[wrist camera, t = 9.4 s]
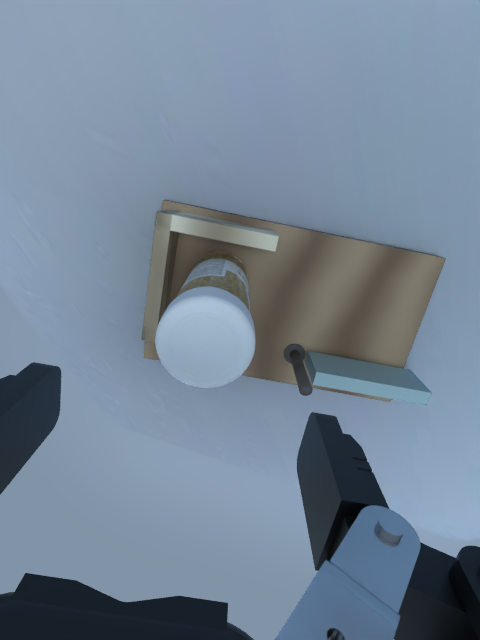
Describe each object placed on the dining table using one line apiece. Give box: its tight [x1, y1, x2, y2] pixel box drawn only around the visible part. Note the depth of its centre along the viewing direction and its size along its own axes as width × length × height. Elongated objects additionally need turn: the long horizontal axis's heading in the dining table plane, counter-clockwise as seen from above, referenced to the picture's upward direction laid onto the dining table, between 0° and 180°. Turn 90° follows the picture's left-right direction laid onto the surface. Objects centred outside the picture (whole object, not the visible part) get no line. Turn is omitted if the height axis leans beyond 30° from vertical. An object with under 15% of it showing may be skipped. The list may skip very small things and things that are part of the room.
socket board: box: [142, 200, 446, 402], centre depth 27 cm, size 22×13×7 cm, turn 79°
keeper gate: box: [305, 351, 432, 405], centre depth 29 cm, size 1×9×4 cm, turn 79°
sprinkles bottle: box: [155, 251, 255, 388], centre depth 22 cm, size 5×5×13 cm
